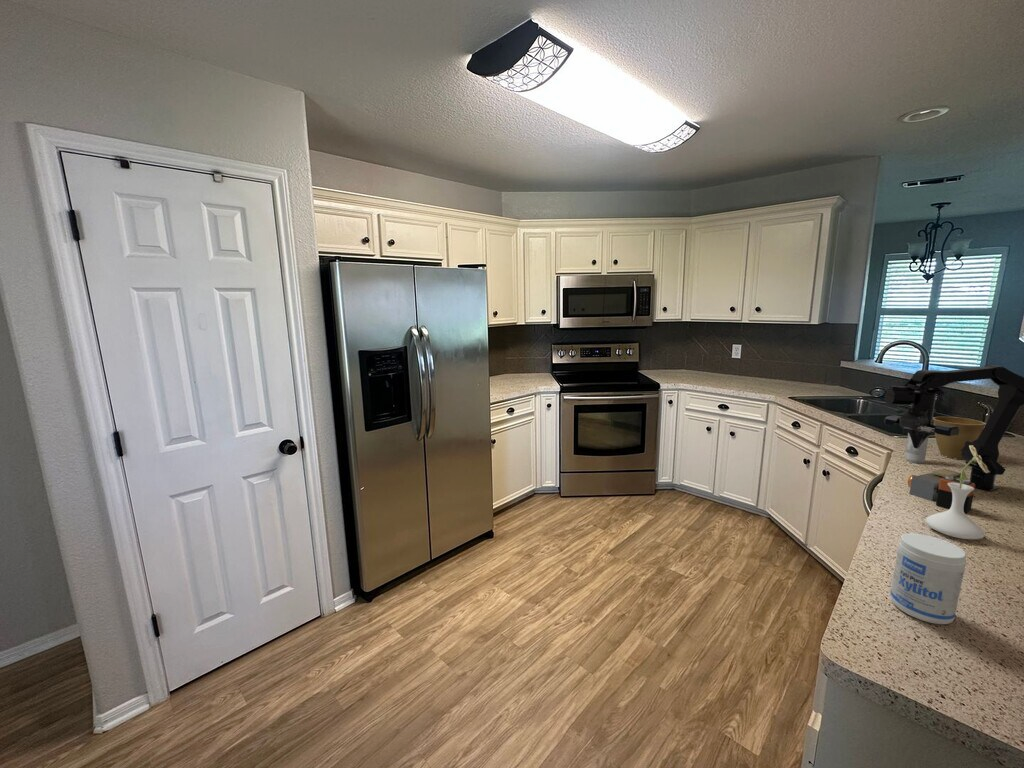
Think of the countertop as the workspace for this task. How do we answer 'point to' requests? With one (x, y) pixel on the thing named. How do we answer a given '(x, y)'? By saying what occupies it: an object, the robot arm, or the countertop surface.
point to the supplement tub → (928, 578)
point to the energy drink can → (915, 451)
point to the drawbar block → (926, 485)
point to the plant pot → (955, 443)
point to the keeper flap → (946, 473)
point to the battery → (946, 494)
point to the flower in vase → (958, 509)
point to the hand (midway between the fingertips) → (916, 448)
